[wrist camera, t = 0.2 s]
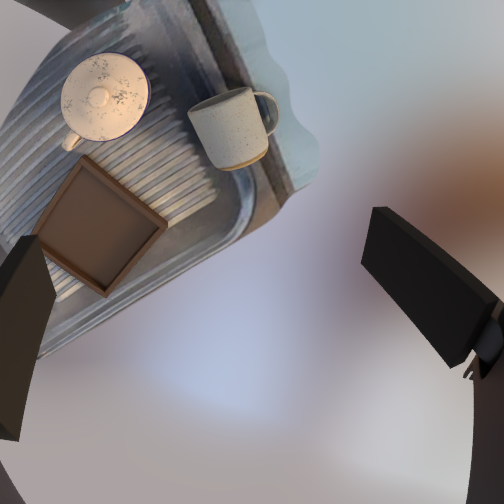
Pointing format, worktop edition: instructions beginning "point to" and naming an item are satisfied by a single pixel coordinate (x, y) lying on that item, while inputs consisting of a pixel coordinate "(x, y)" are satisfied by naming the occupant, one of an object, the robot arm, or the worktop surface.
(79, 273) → the rectangular tray
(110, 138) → the teacup with lid
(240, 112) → the ceramic mug
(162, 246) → the worktop surface
